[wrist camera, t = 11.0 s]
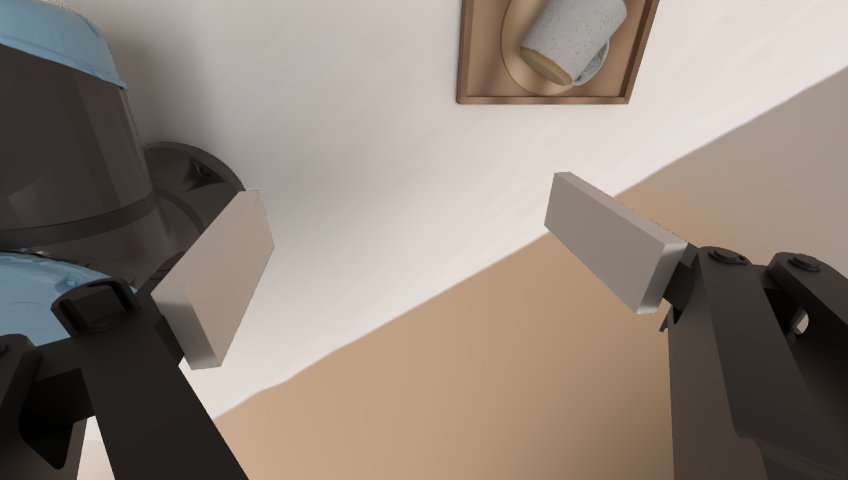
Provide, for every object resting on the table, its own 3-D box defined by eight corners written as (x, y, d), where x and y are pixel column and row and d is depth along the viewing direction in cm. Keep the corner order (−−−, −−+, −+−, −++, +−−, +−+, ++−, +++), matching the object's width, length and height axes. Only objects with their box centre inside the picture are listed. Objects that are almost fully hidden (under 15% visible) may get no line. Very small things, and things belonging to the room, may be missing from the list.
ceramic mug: (504, 52, 38) (533, 53, 31) (550, -25, 35) (593, -41, 28) (568, 100, 42) (605, 111, 35) (615, 35, 39) (665, 33, 32)
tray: (456, 102, 41) (459, 104, 40) (469, -124, 31) (475, -135, 30) (618, 102, 44) (628, 104, 42) (678, -107, 34) (694, -115, 32)
